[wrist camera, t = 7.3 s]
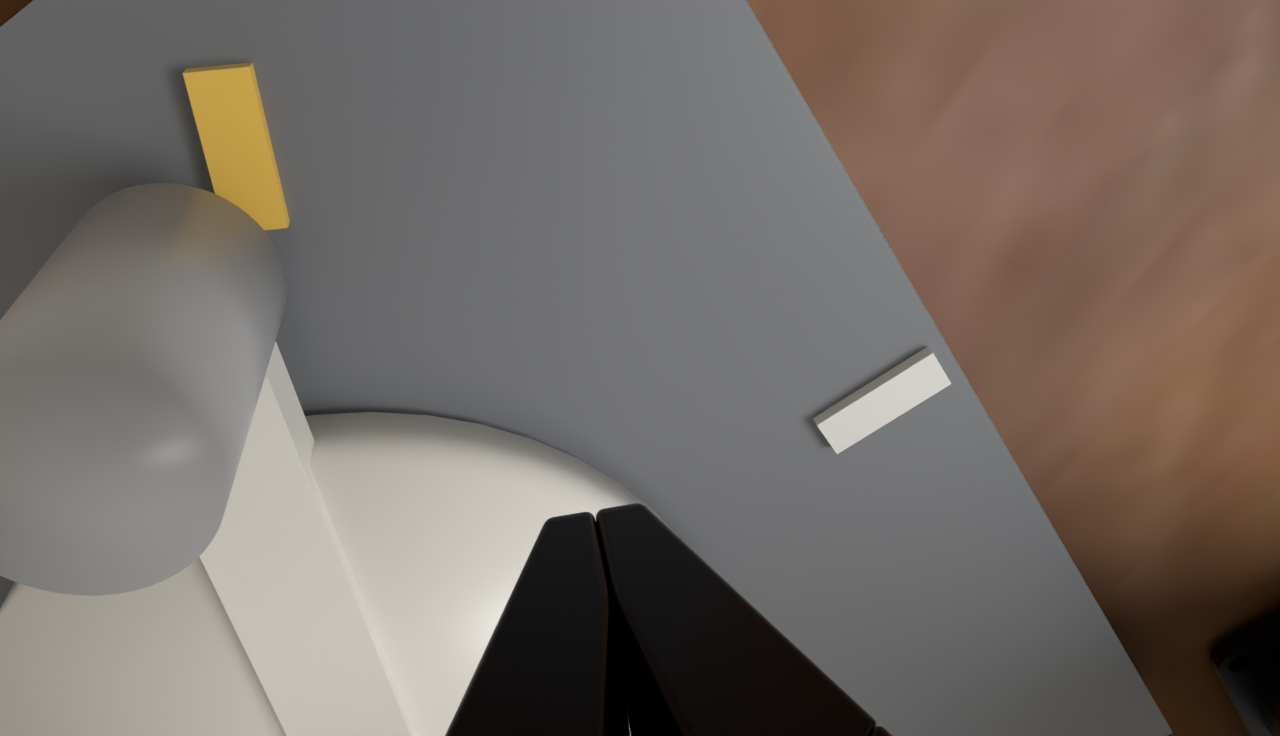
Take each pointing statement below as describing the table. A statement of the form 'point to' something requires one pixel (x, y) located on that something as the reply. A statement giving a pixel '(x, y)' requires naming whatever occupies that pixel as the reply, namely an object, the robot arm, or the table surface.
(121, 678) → the dial
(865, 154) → the table surface
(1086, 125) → the table surface
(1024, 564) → the dial plate
